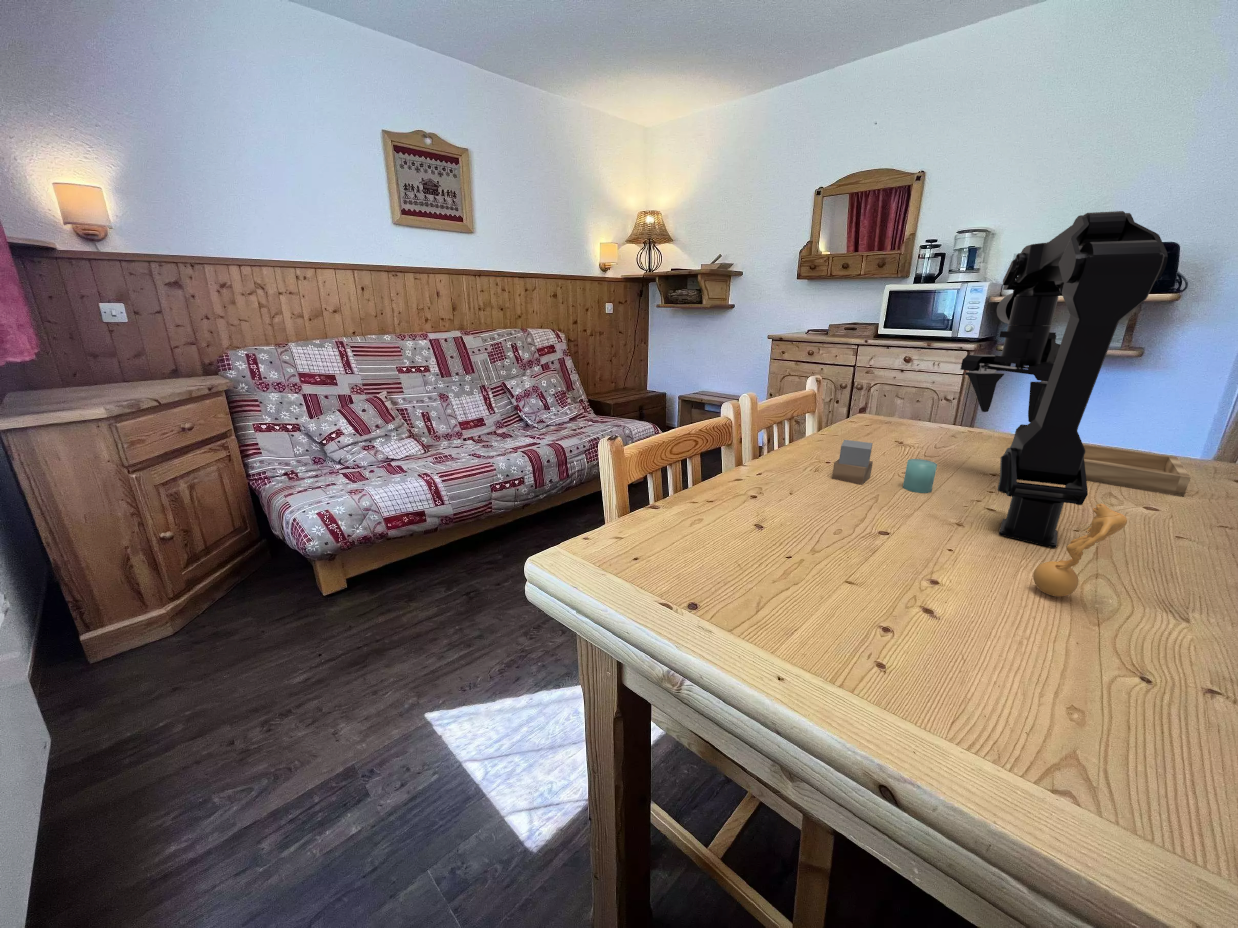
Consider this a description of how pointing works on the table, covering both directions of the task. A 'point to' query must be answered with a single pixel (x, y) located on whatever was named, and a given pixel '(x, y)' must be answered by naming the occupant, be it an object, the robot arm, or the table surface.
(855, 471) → the block lower
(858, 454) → the block upper
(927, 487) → the teal cylinder
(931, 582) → the table surface
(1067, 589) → the figurine
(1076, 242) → the robot arm
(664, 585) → the table surface
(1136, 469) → the tray
